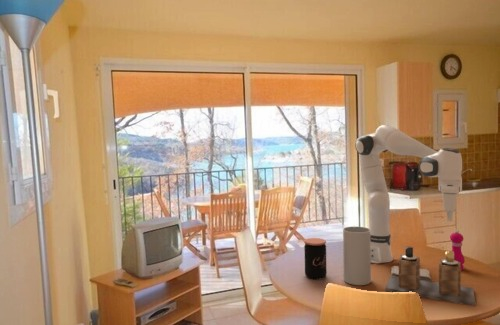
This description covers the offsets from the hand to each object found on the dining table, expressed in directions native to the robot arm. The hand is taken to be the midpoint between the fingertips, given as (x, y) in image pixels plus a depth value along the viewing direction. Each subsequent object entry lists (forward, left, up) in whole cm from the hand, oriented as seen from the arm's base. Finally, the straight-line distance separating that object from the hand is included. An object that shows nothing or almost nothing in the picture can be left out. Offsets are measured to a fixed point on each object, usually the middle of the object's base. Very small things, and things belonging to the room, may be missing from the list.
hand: (449, 218), depth 157 cm
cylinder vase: (-39, -1, -33) cm, 51 cm away
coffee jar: (-59, -3, -33) cm, 68 cm away
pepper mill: (+3, +37, -33) cm, 50 cm away
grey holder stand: (-8, 0, -33) cm, 34 cm away
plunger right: (0, 0, -30) cm, 30 cm away
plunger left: (-16, 0, -30) cm, 34 cm away
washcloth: (-17, +17, -34) cm, 42 cm away
